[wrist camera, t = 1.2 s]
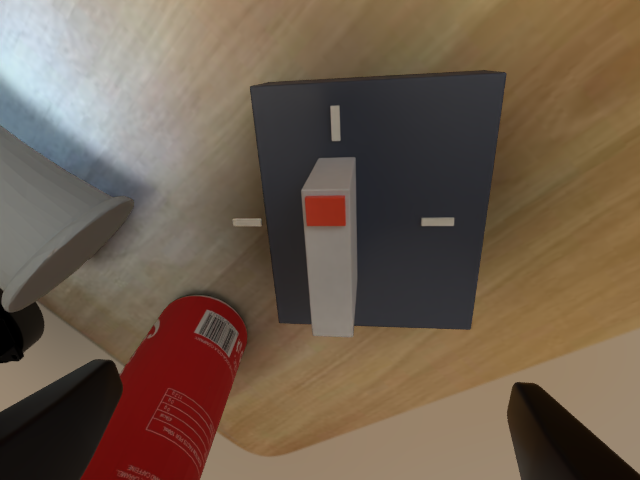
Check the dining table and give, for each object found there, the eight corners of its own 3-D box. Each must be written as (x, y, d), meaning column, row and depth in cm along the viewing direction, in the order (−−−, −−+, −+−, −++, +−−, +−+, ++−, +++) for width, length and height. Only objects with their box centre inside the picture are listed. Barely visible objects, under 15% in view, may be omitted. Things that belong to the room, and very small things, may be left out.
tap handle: (357, 277, 19) (353, 342, 14) (325, 277, 19) (311, 340, 15) (355, 156, 16) (349, 191, 12) (318, 157, 16) (299, 192, 12)
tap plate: (459, 297, 22) (471, 332, 19) (264, 292, 24) (249, 324, 21) (486, 70, 17) (508, 72, 14) (235, 84, 18) (210, 88, 16)
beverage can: (174, 276, 24) (-81, 558, 10) (271, 313, 24) (145, 632, 11) (159, 343, 26) (-60, 636, 13) (246, 376, 27) (120, 695, 13)
